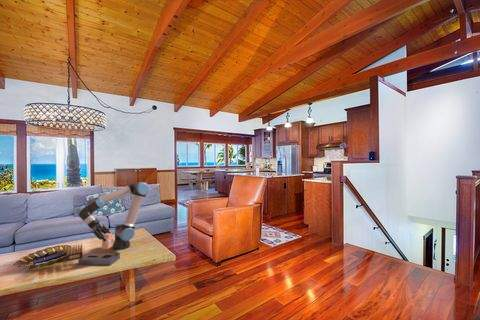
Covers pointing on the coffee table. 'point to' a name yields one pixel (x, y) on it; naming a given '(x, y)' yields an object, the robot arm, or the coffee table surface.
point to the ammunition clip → (74, 253)
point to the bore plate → (99, 259)
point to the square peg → (109, 237)
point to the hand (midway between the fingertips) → (111, 242)
